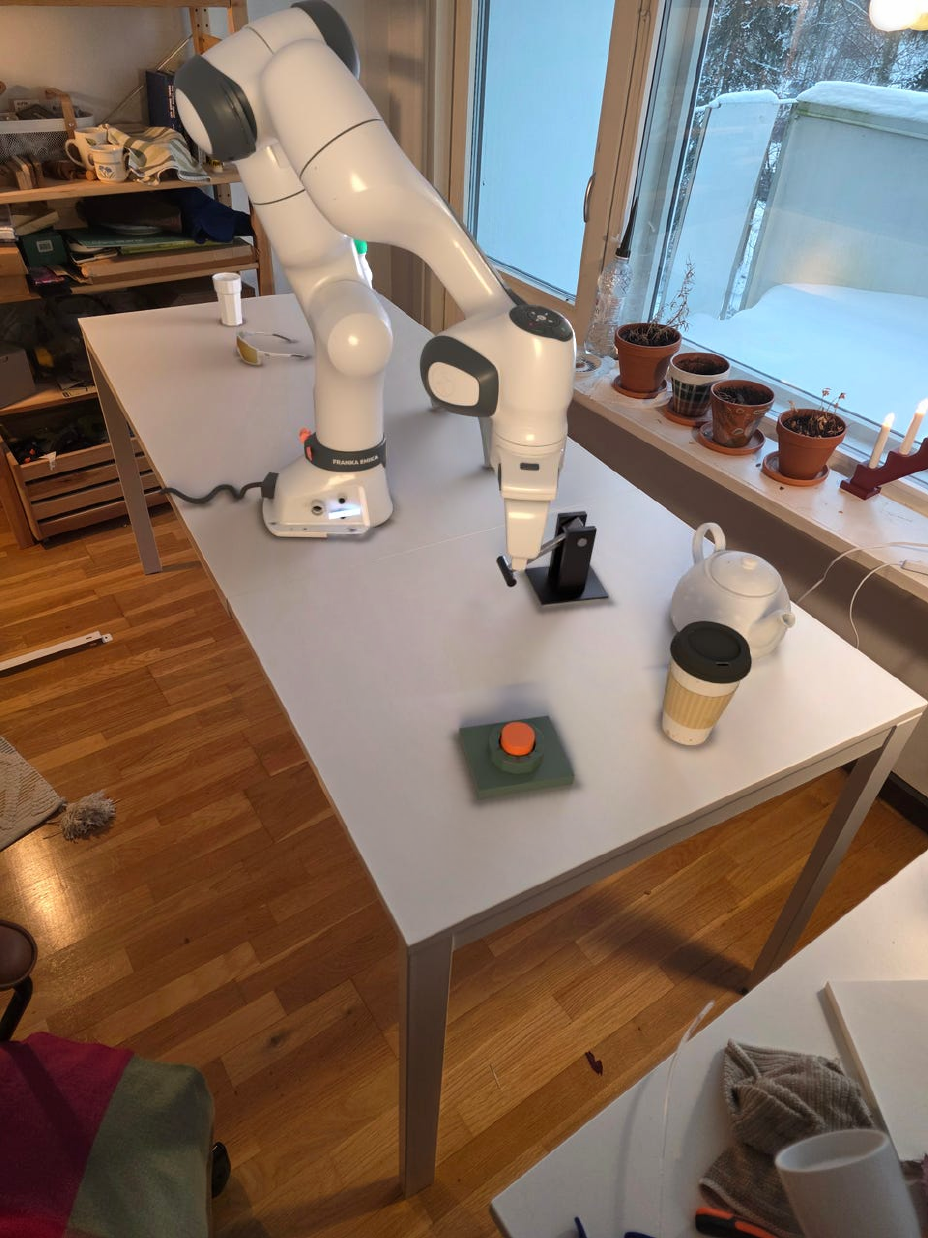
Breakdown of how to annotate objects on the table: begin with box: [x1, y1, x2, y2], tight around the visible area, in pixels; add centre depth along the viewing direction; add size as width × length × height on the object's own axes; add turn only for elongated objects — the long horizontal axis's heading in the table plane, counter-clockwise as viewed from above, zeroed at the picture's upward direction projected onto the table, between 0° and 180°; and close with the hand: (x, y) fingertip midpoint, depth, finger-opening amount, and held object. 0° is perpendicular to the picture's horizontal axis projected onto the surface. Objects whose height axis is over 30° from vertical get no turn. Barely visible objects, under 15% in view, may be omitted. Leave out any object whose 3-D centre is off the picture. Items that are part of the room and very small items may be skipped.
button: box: [501, 722, 535, 756], centre depth 98 cm, size 4×4×2 cm
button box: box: [458, 715, 575, 800], centre depth 99 cm, size 12×10×4 cm
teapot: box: [669, 522, 796, 661], centre depth 119 cm, size 19×18×14 cm
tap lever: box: [495, 518, 584, 588], centre depth 121 cm, size 14×6×2 cm
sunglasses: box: [235, 329, 308, 366], centre depth 189 cm, size 14×15×5 cm
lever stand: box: [524, 510, 610, 606], centre depth 124 cm, size 11×9×13 cm
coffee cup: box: [661, 621, 753, 746], centre depth 102 cm, size 10×10×15 cm
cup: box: [211, 271, 243, 327], centre depth 200 cm, size 7×7×11 cm
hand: (517, 544), depth 105 cm, fingers open, 8 cm apart
